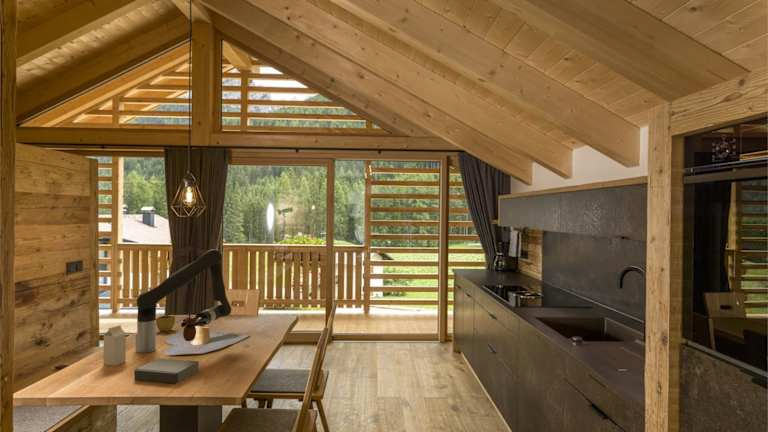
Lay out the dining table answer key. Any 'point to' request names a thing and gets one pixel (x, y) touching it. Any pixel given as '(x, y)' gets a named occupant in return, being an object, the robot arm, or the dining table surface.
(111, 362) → the milk carton
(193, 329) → the wooden figurine
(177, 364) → the block
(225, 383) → the dining table surface
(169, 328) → the flower pot
